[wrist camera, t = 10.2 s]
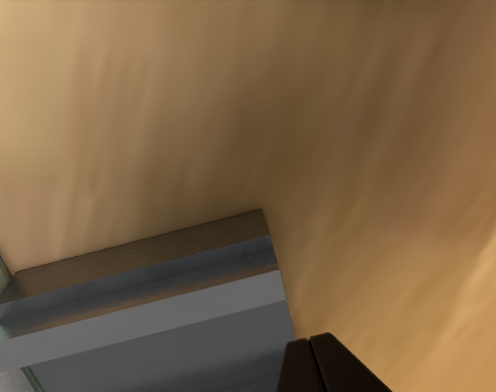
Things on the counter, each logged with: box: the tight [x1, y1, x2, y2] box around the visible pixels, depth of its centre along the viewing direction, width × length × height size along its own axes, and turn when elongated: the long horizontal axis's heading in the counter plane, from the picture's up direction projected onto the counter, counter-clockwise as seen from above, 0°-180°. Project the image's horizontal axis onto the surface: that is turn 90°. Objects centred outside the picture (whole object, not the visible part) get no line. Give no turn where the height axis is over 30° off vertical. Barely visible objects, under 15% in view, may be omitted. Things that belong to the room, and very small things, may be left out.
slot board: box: [0, 209, 296, 392], centre depth 20 cm, size 12×10×4 cm
